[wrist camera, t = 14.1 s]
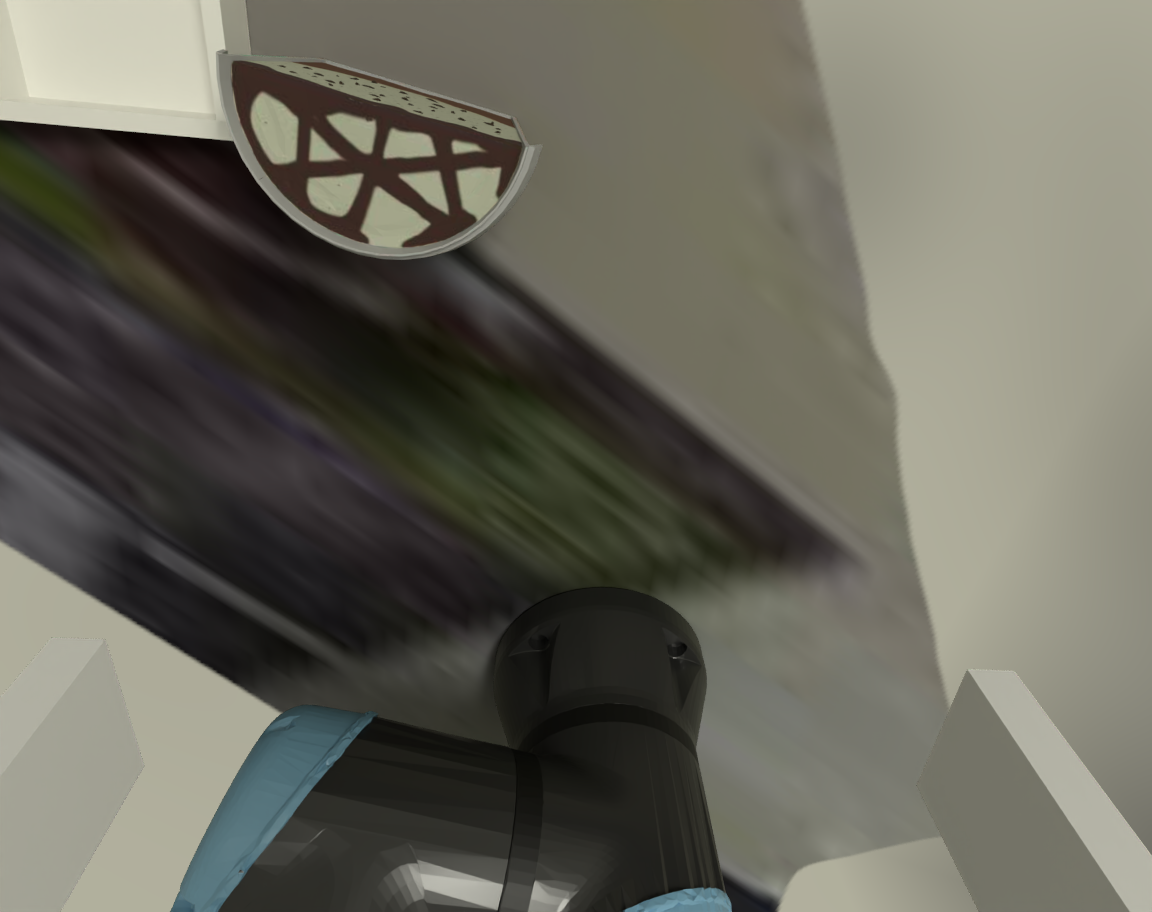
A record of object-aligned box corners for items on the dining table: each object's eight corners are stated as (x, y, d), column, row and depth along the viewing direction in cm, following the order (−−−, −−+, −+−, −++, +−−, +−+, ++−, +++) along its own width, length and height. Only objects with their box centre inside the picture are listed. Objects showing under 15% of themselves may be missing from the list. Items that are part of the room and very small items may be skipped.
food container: (278, 182, 37) (194, 223, 29) (290, 48, 35) (199, 49, 26) (516, 247, 39) (504, 305, 30) (545, 125, 36) (541, 151, 28)
